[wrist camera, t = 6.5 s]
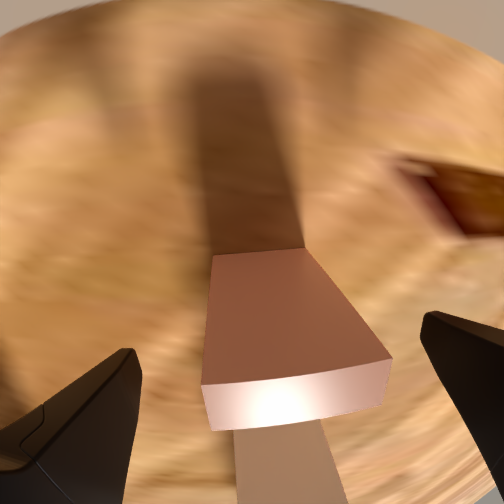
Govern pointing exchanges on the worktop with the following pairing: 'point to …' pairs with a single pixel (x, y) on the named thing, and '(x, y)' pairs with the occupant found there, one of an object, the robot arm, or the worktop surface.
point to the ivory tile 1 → (286, 465)
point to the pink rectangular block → (285, 344)
